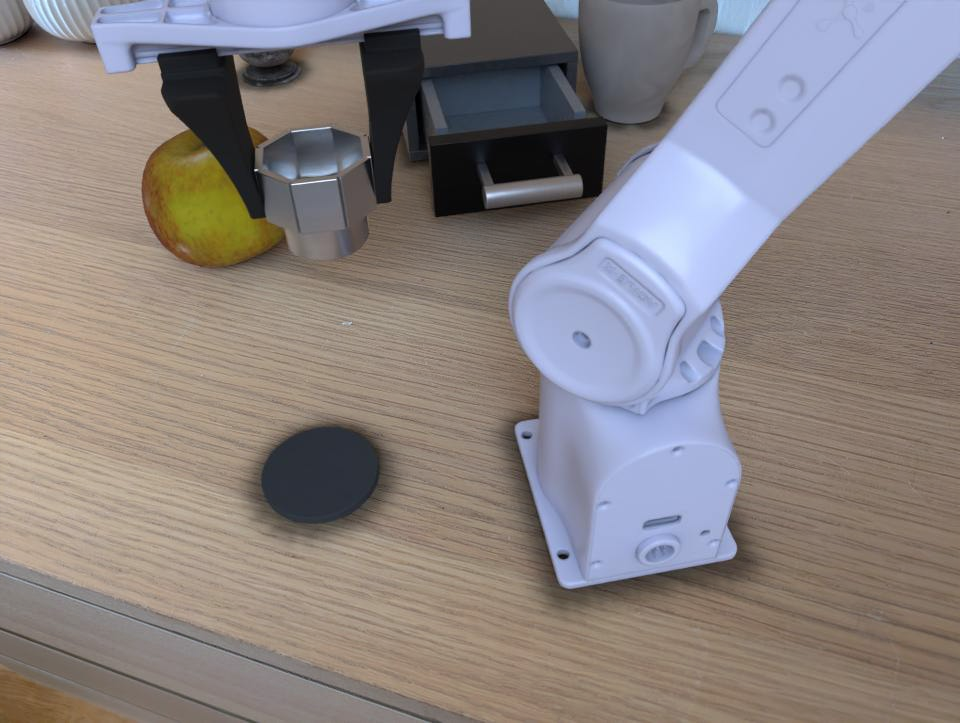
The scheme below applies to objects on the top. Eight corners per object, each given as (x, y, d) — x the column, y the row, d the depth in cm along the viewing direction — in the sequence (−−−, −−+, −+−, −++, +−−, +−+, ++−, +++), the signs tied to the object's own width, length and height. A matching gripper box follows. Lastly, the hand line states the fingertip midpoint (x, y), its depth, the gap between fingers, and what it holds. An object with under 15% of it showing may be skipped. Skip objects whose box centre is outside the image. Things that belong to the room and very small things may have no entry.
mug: (614, 145, 62) (626, 15, 55) (552, 99, 67) (556, -23, 61) (737, 106, 66) (763, -19, 59) (669, 66, 71) (685, -52, 65)
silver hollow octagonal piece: (386, 261, 38) (374, 174, 35) (274, 275, 38) (252, 189, 35) (377, 202, 42) (365, 119, 39) (275, 214, 42) (255, 131, 38)
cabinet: (573, 142, 63) (578, 50, 58) (410, 161, 61) (401, 69, 56) (532, 68, 72) (534, -16, 67) (390, 83, 71) (381, -1, 66)
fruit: (218, 197, 58) (188, 90, 53) (332, 219, 56) (312, 109, 50) (134, 276, 52) (89, 164, 46) (258, 305, 49) (226, 189, 44)
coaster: (384, 513, 38) (383, 506, 38) (262, 533, 37) (260, 527, 37) (373, 425, 42) (372, 418, 42) (263, 442, 41) (261, 435, 41)
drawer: (621, 231, 52) (629, 157, 49) (445, 255, 51) (439, 180, 47) (555, 112, 64) (558, 45, 61) (411, 129, 63) (405, 61, 59)
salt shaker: (224, 81, 72) (187, -66, 64) (262, 55, 76) (231, -87, 68) (281, 92, 70) (250, -59, 62) (317, 64, 74) (292, -81, 66)
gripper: (445, -168, 33) (460, 141, 42) (69, -140, 31) (172, 174, 41) (474, -125, 28) (485, 215, 37) (28, -89, 26) (156, 256, 36)
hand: (322, 199), depth 38 cm, fingers closed on silver hollow octagonal piece, 5 cm apart
